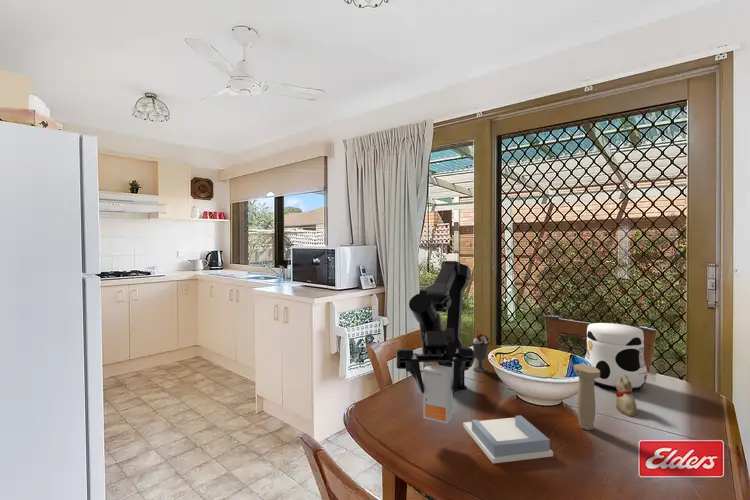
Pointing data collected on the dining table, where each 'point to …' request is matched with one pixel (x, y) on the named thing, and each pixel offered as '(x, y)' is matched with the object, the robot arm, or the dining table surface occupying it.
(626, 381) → the chocolate bunny
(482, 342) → the sundae
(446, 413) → the skincare box
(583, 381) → the handle
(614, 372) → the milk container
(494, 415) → the dining table surface
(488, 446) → the stop cradle
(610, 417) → the dining table surface
